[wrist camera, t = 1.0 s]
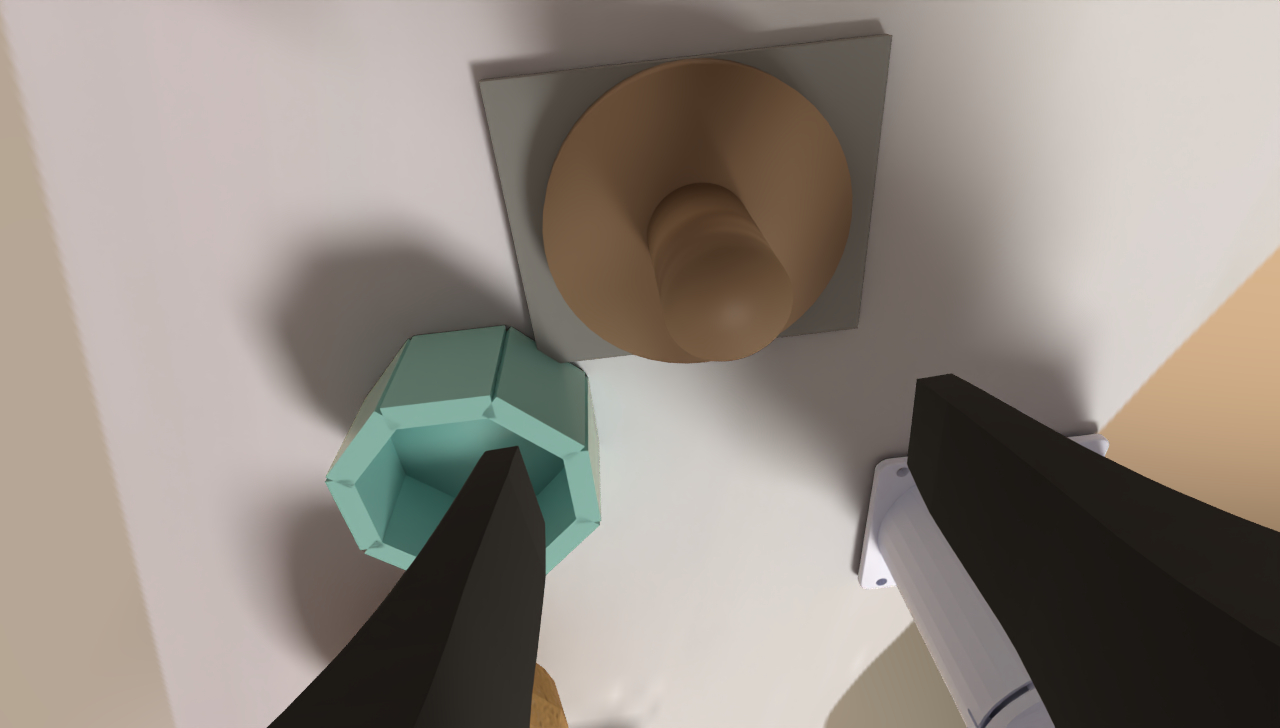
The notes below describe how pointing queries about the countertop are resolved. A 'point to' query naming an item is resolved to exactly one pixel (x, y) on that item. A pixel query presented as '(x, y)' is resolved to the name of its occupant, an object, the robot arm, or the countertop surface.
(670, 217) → the lid
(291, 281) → the countertop surface
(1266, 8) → the countertop surface
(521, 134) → the mat
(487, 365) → the bowl
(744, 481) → the countertop surface
